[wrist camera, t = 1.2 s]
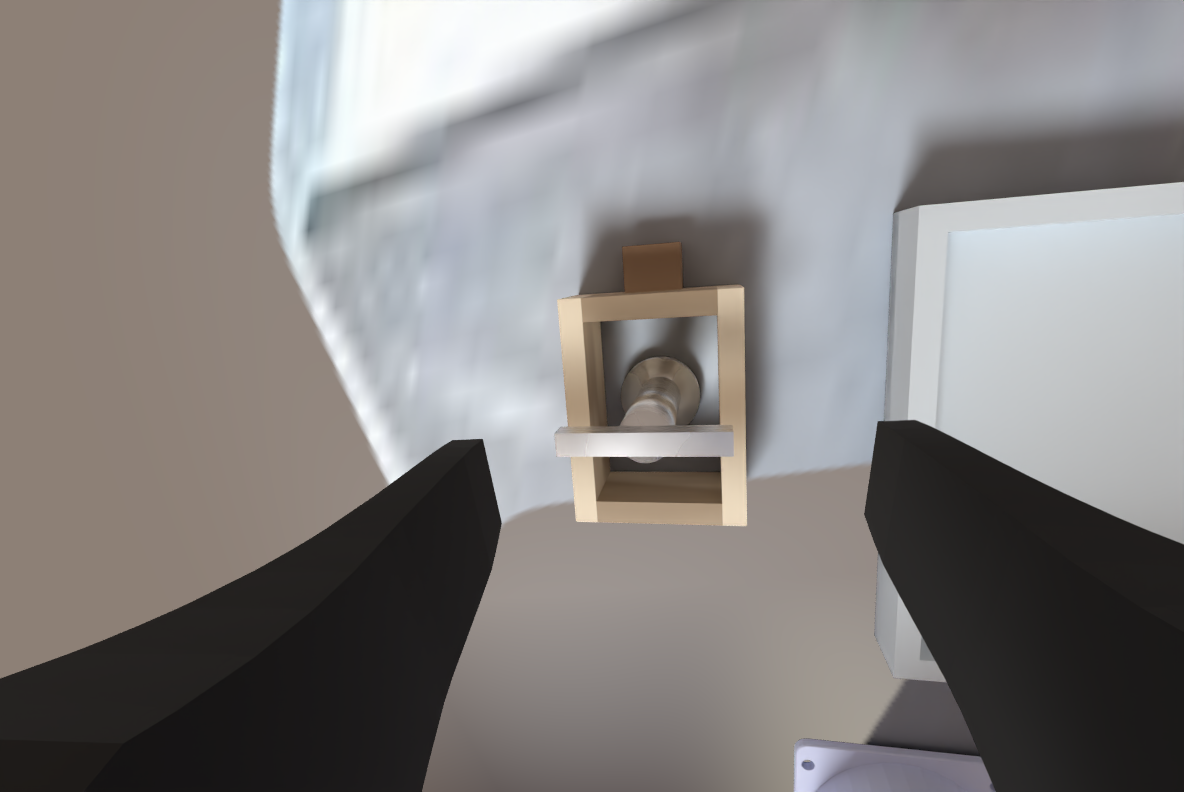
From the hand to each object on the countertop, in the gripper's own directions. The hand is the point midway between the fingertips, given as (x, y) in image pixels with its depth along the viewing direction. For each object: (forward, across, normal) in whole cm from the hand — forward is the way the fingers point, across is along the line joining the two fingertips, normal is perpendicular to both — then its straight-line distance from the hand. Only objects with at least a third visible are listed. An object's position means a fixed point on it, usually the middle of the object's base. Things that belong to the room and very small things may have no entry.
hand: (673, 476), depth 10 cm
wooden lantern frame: (+11, 0, +4) cm, 11 cm away
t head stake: (+11, 0, +4) cm, 11 cm away
